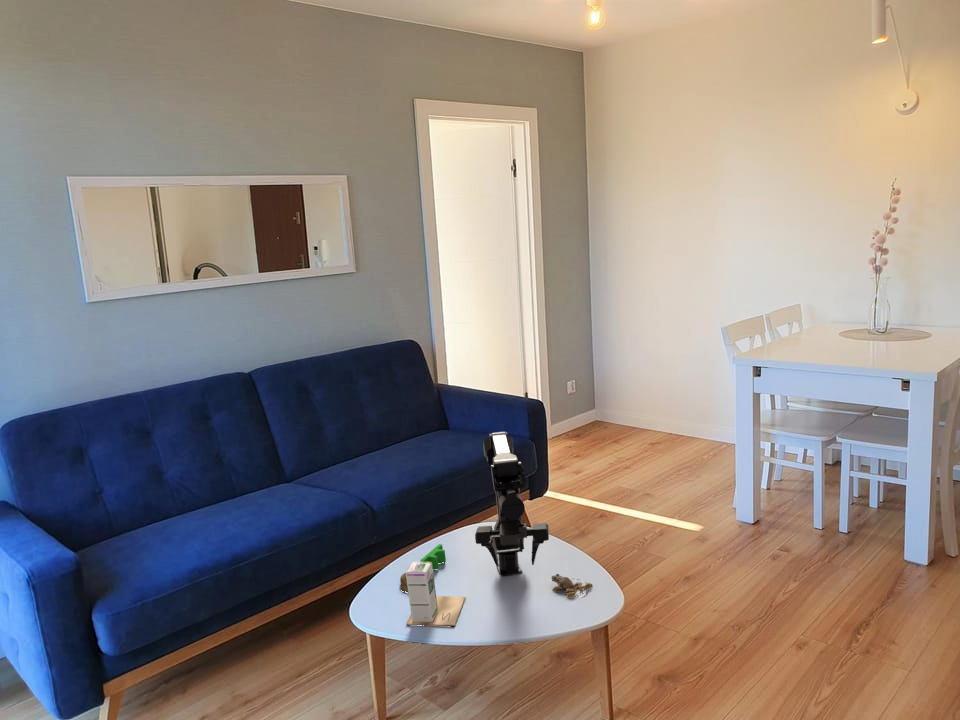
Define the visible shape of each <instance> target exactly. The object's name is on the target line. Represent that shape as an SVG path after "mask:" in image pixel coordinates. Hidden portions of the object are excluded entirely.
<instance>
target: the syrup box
mask: <svg viewBox="0 0 960 720" xmlns="http://www.w3.org/2000/svg"><path fill="white" fill-rule="evenodd" d="M405 573H406V579H407V587H408V600H409V607H410V615H411V616H412V621H413V622H433V620H434V618H435V616H436V614H437V611H438V607H437V599H436V596H437V593H436V592H437V591H436V585H435V575H434V570H433V568H432V562H425V561H420V560H419V561H412V562H411V563H410V565H409V566H408V568H407V569H406V572H405Z"/></svg>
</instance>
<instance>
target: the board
mask: <svg viewBox="0 0 960 720" xmlns="http://www.w3.org/2000/svg"><path fill="white" fill-rule="evenodd" d="M436 599H437V607H438V611H437V614H436V616H435V618H434V620H433V622H413V621H412V616H411V614H409V617H408V619H407V621H406V623H405V625H422V626H421V627H433V626H454V627H453V628H455V627H456V625H457V622H458V619H459V617H460V614H461V613H462V610H463V609H462V608H463V607H464V604H465V601H466V596H452V595H451V596H449V595H448V596H440V595H436ZM455 624H456V625H455ZM423 625H424V626H423Z"/></svg>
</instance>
